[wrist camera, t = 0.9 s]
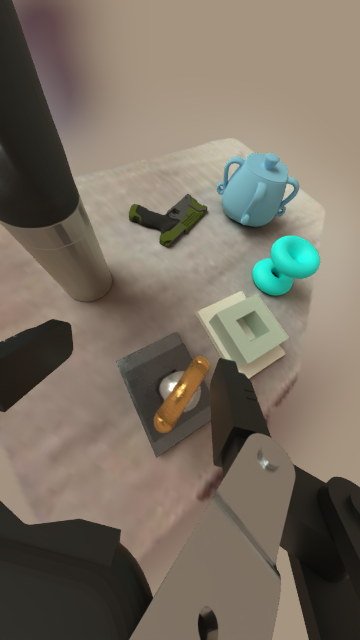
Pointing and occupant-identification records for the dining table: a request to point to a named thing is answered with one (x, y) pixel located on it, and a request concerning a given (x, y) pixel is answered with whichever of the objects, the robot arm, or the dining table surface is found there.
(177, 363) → the block
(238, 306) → the pale green socket base
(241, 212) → the decorative pot
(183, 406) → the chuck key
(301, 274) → the donuts
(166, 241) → the gun
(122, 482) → the dining table surface
